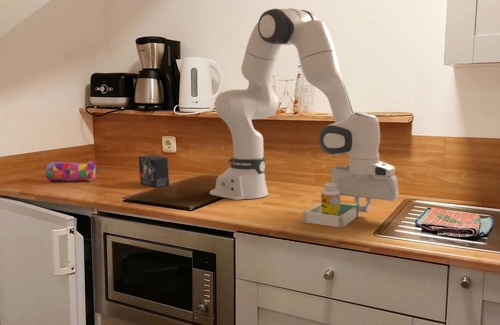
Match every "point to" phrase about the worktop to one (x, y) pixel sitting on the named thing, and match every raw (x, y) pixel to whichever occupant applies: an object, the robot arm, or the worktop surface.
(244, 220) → the worktop surface
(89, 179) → the pencil case
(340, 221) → the tray
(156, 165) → the small box
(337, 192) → the supplement bottle
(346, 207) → the teal flat bar
